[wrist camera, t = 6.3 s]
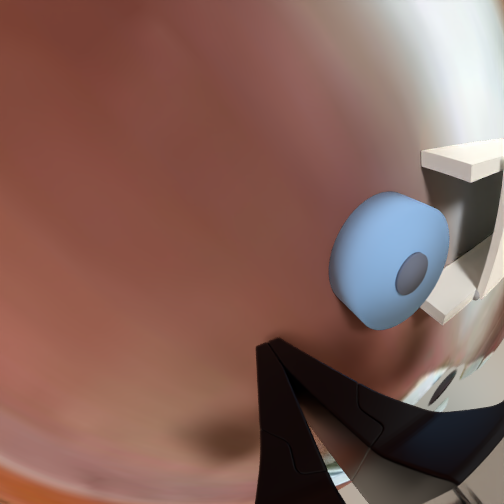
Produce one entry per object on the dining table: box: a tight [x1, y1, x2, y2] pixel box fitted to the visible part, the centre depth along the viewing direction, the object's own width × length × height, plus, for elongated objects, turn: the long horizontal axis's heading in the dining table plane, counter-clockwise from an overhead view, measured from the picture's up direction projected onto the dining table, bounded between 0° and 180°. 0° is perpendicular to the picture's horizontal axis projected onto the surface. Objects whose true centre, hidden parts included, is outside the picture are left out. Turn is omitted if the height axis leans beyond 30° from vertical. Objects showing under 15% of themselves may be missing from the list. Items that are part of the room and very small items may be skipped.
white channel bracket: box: [420, 138, 504, 325], centre depth 13 cm, size 15×9×3 cm, turn 102°
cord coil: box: [329, 192, 449, 330], centre depth 12 cm, size 6×6×3 cm
